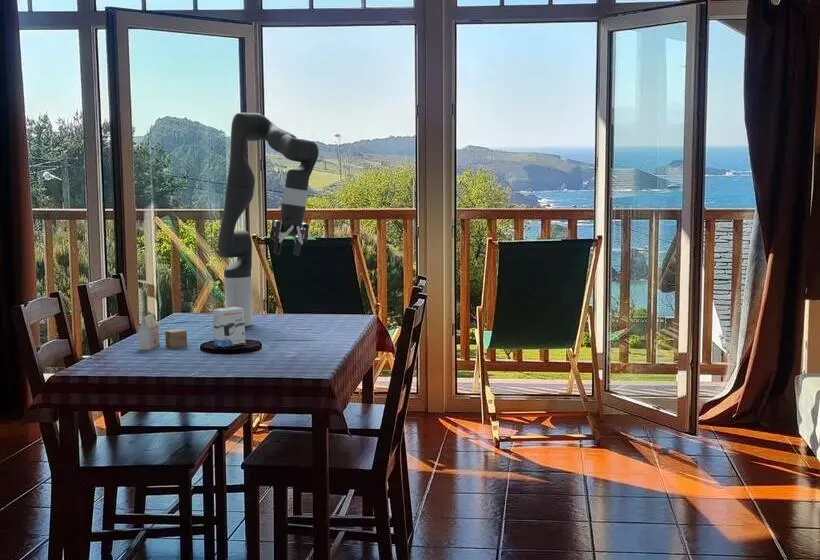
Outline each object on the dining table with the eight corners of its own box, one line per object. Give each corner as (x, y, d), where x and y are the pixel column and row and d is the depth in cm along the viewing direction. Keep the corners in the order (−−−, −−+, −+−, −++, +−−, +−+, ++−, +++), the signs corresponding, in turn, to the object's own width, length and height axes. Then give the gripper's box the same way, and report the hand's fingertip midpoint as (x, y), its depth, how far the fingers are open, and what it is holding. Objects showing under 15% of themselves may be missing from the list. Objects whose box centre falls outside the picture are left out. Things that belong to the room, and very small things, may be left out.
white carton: (138, 349, 294) (137, 317, 293) (148, 345, 300) (146, 314, 299) (150, 349, 293) (148, 317, 292) (159, 345, 300) (158, 314, 299)
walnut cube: (165, 346, 299) (165, 330, 299) (181, 344, 302) (180, 328, 301) (171, 348, 295) (170, 332, 294) (187, 346, 298) (186, 330, 297)
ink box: (222, 349, 292) (220, 310, 291) (213, 347, 296) (212, 309, 295) (246, 345, 298) (244, 307, 296) (237, 343, 301) (236, 306, 300)
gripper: (301, 203, 307) (293, 254, 308) (269, 199, 295) (261, 252, 297) (318, 207, 302) (310, 257, 304) (286, 203, 291) (278, 256, 292)
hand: (286, 254), depth 300 cm, fingers open, 8 cm apart
